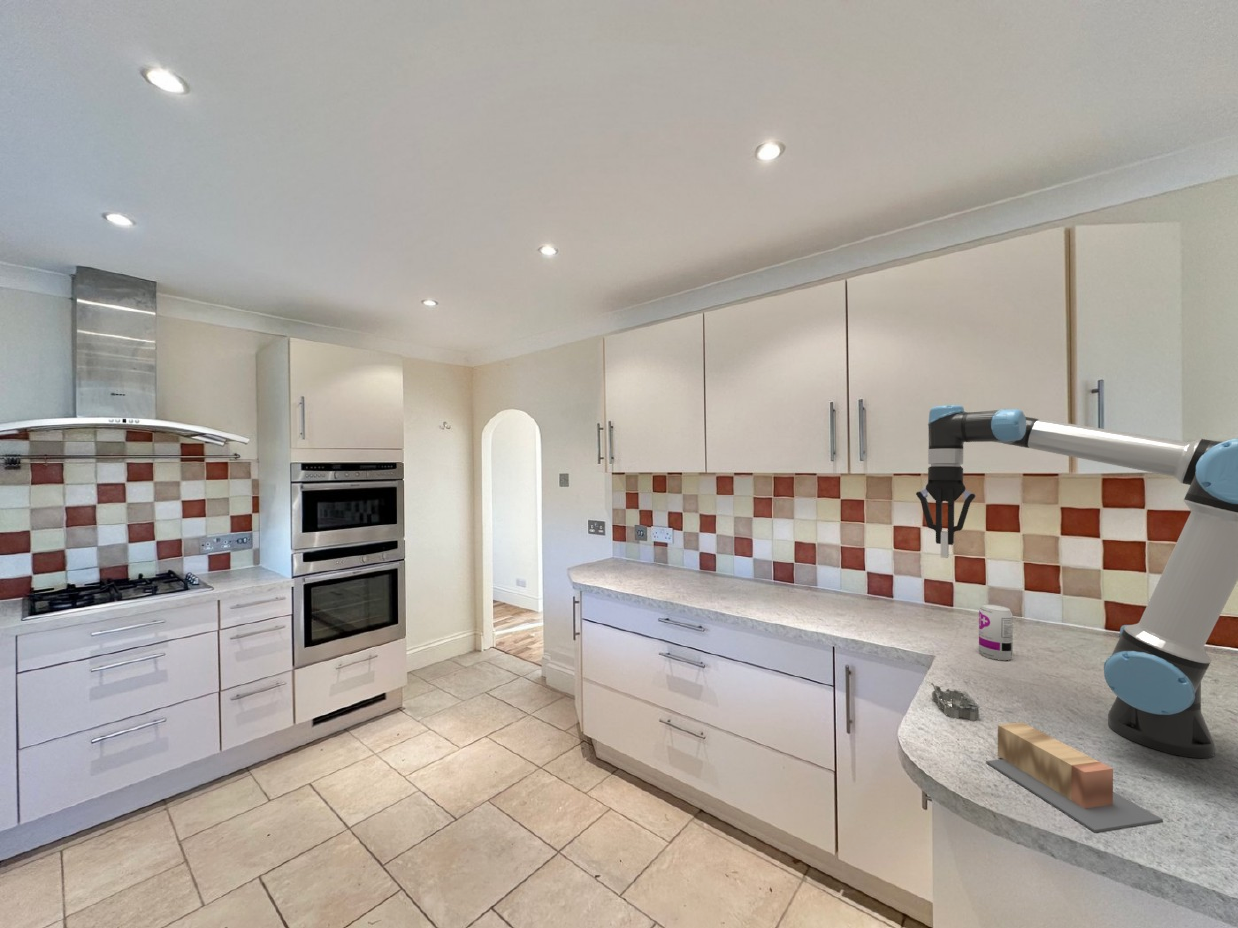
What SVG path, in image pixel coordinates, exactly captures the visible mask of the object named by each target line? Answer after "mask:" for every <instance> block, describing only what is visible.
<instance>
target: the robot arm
mask: <svg viewBox="0 0 1238 928" xmlns="http://www.w3.org/2000/svg"><path fill="white" fill-rule="evenodd" d="M927 426H928V428H927V429H928V449H927V450H928V451H927V453H928V455H927V456H928V458H927V459H928V460H927V463H928V465H930V466H928V468H927V470H928V471H927V473H928V474H927V484H926V485H925V488H924V489H922V490H920V491H916V492H915V495H916V496H917V498H918V500H920V503H921V504H920V505H921V507H922V511H923V515H924V518H925V523H926V526H927V528H928V529H931V530H934V532H935V543H936V544H937V545H938V544H940V558H943V559H949V555H950V551H949V548H950V547H949V546H952V545H954V544H955V532H958V531H962V530H963V528H964V525H965V522H966V518H967V515H968V512H969V509H970V507H971V503H972V502H973V501H974V499H975V498H976V496H977V495H976V493H972V492H971V491H969V490H967V489H966V486H965V484H964V468H963V466H961V465H963V464H964V443H983V442H984V443H985V442H986V443H988V442H991V443H998V444H1004V445H1009V446H1015V447H1016V446H1017V447H1019V448H1020V447H1021V448H1027V449H1032V450H1038V451H1042V452H1047V453H1052V454H1057V455H1061V456H1067V457H1072V458H1077V459H1083V460H1088V461H1092V462H1097V463H1103V464H1107V465H1111V466H1118V467H1123V468H1128V469H1133V470H1138V471H1142V472H1149V473H1152V474H1159V475H1161V476H1162V475H1163V476H1169V477H1174V478H1176V479H1177V481H1178V482H1179V483H1180V484H1184V485H1188V486H1189V487H1188V490H1187V492H1186V494H1185V496H1184V498H1183V502H1184V504H1186V506H1187V507H1188V509H1189V510H1190V513H1189V516H1188V517H1187V520H1186V522H1185V523H1184V526H1183V528H1182V530H1181V532H1180V535H1179V537H1178V539H1177V541H1176V543H1175V546H1174V547H1173V550H1172V552H1171V554H1170V556H1169V558H1168V561H1167V562H1166V564H1165V567H1164V569H1163V570H1162V573H1161V575H1160V578H1159V580H1158V581H1157V584H1156V586H1155V588H1154V590H1153V592H1152V595H1151V596H1150V598H1149V600H1148V603H1147V605H1146V607H1145V609H1144V611H1143V613H1142V614H1141V615H1142V616H1141V618H1140V620H1139V621H1138V623H1134V624H1124V625H1121V626H1120V630H1119V633H1118V638H1119V639H1118V641H1117V643H1116V645H1115V647H1114V649H1113V651H1112V653H1111V655H1110V656H1109V657H1107V659H1106V660H1105V662H1104V664H1103V675H1104V679H1105V682H1106V684H1107V686H1108V687H1109V688H1110V690H1111V691H1112V692H1113V693H1114V694H1115V695H1116V698H1115V700H1114V702H1113V703H1112V705H1111V707H1110V710H1109V712H1108V714H1107V725H1108V726H1109V728H1110V729H1111V730H1113V731H1114V733H1117V734H1118V735H1120V736H1122V737H1123V738H1126V739H1128V740H1129V741H1131V742H1134V743H1136V744H1138V745H1139V744H1140V745H1142V746H1144V747H1148V748H1150V749H1153V750H1156V751H1160V752H1162V753H1163V752H1164V753H1166V754H1167V753H1168V754H1170V755H1171V754H1172V755H1175V756H1181V757H1185V758H1186V757H1187V758H1194V759H1208V758H1212V757H1214V755H1215V742H1214V740H1213V736H1212V735H1211V732H1210V730H1209V728H1208V726H1207V723H1206V720H1205V718H1204V716H1203V713H1202V681H1203V678H1204V677H1205V674H1206V672H1207V670H1208V669H1209V666H1210V665H1211V662H1212V658H1211V657H1210V655H1209V654H1208V653H1207V652H1206V650H1205V645H1206V643H1207V641H1208V639H1209V638H1210V636H1211V634H1212V632H1213V630H1214V628H1215V626H1216V624H1217V622H1218V620H1219V618H1220V617H1221V615H1222V612H1223V610H1224V608H1225V606H1226V604H1227V602H1228V600H1229V598H1230V596H1231V594H1232V592H1233V590H1234V588H1235V587H1236V584H1237V582H1238V438H1232V439H1228V440H1226V441H1225V440H1224V441H1220V440H1213V439H1212V440H1211V439H1204V438H1197V439H1196V440H1193V441H1185V440H1177V439H1171V438H1164V437H1158V436H1152V435H1146V434H1141V433H1139V434H1138V433H1132V432H1126V431H1119V430H1114V429H1106V428H1100V427H1095V426H1094V427H1092V426H1088V425H1087V426H1086V425H1080V424H1074V423H1067V422H1060V421H1055V420H1049V419H1048V420H1047V419H1041V418H1035V417H1028V416H1025V414H1024V412H1023V410H1021V409H1019V408H1017V409H1015V408H1014V409H1008V408H1007V409H1006V408H1002V409H997V410H996V409H995V410H984V411H972V412H970V411H969V412H968V411H967V412H966V411H965V409H964V406H962V405H958V404H951V405H950V404H949V405H947V404H945V405H937V406H933V407H932V408H930V410H929V415H928V424H927ZM928 493H929V496H930V497H932V499H933V500H934V501H935V524H934V521H933V516H932V513H931V510H930V506H929V503H928V499H927V498H928V497H929V496H928ZM961 495H963V499H964V502H963V504H962V508H961V510H960V511H961V512H960V514H959V517H958V521H957V524H956V525H955V502H956V501H957V500H959V498H960V497H961ZM943 502H947V529H946V530H947V531H944V530H943Z"/></svg>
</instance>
